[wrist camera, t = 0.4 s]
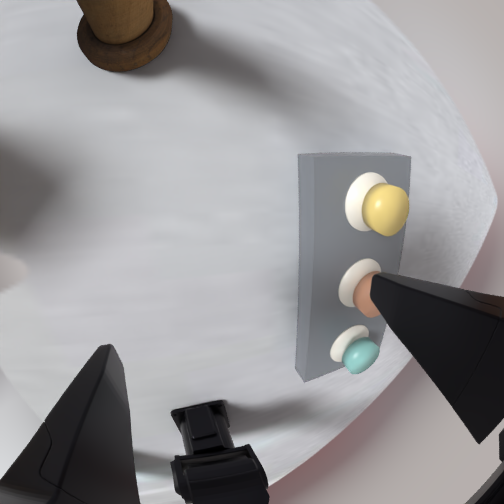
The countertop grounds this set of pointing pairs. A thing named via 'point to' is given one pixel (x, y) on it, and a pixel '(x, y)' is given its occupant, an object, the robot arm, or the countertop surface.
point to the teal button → (360, 355)
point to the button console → (340, 253)
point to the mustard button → (385, 208)
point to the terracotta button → (365, 296)
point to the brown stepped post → (123, 32)
